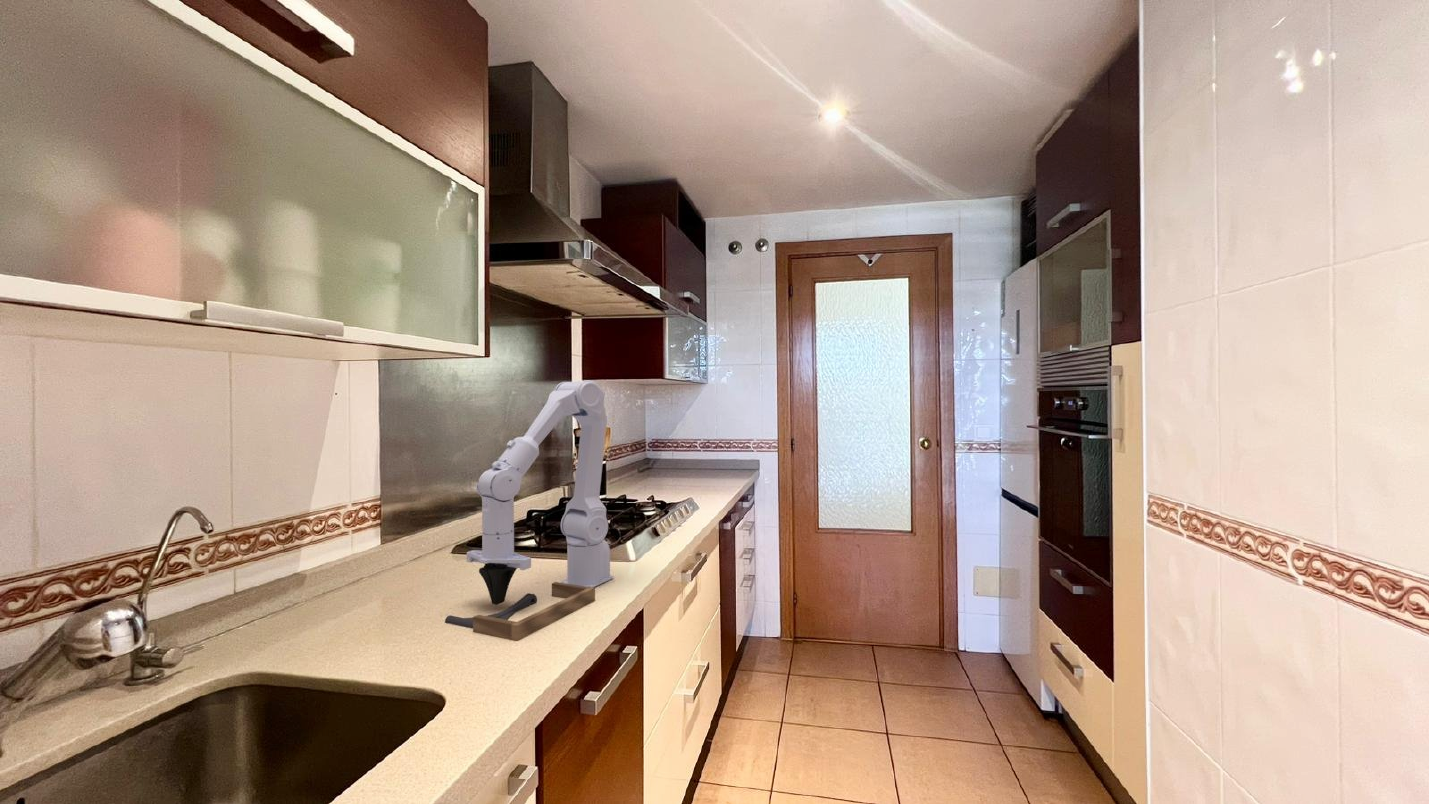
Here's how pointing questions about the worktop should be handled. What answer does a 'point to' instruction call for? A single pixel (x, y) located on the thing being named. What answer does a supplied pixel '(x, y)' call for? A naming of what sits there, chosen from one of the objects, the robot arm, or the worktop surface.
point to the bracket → (504, 614)
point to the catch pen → (534, 622)
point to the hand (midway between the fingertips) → (498, 602)
